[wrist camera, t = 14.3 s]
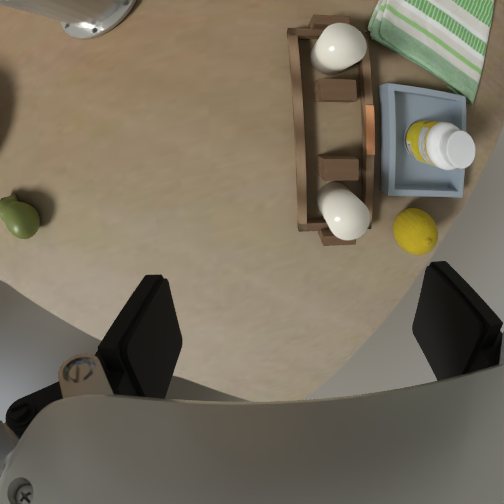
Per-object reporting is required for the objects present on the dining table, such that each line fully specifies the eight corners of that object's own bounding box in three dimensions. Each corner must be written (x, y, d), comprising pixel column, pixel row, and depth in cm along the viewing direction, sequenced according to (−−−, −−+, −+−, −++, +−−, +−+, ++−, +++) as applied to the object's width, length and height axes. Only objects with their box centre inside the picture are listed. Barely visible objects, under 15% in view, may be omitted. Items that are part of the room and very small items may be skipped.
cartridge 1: (308, 40, 29) (319, 21, 22) (344, 42, 29) (364, 25, 21) (311, 74, 31) (323, 62, 24) (348, 75, 31) (368, 65, 23)
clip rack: (286, 24, 28) (288, 14, 25) (362, 28, 28) (372, 19, 24) (297, 234, 39) (300, 246, 36) (367, 231, 39) (376, 243, 35)
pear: (21, 249, 36) (-9, 222, 36) (43, 238, 41) (12, 213, 41) (22, 218, 34) (-8, 192, 34) (47, 208, 39) (15, 185, 39)
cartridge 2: (316, 182, 36) (328, 198, 29) (351, 182, 36) (371, 198, 29) (316, 217, 38) (327, 241, 31) (350, 215, 38) (368, 239, 31)
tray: (378, 85, 31) (387, 83, 28) (453, 96, 30) (465, 96, 27) (379, 190, 36) (388, 195, 33) (451, 191, 35) (462, 197, 33)
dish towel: (361, 38, 29) (367, 33, 26) (397, -67, 19) (403, -75, 17) (468, 104, 30) (479, 105, 28) (491, -5, 21) (500, -8, 18)
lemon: (383, 239, 39) (405, 266, 32) (386, 200, 37) (411, 220, 29) (417, 238, 39) (443, 264, 31) (422, 201, 36) (451, 220, 29)
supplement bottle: (441, 129, 31) (485, 137, 23) (430, 166, 34) (472, 183, 25) (408, 113, 31) (449, 115, 22) (397, 152, 33) (435, 165, 25)
